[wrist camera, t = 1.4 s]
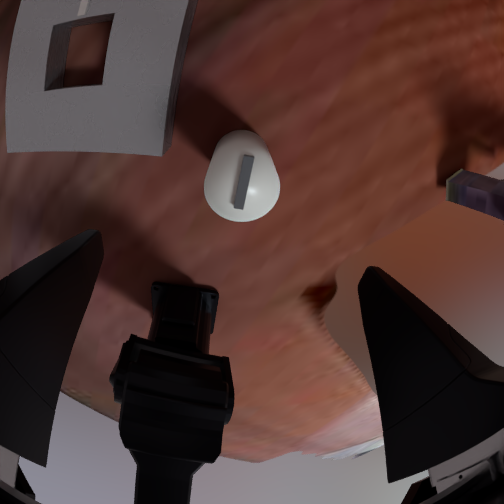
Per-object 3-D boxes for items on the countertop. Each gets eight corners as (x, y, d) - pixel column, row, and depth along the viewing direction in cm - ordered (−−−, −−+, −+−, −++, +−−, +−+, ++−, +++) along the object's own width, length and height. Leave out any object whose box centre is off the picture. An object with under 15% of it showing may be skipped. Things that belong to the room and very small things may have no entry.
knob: (262, 184, 20) (270, 229, 15) (210, 176, 19) (199, 218, 14) (274, 135, 17) (289, 162, 12) (218, 125, 17) (209, 148, 12)
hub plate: (171, 146, 17) (161, 157, 15) (25, 142, 15) (5, 153, 13) (208, -34, 9) (203, -49, 7) (42, -7, 7) (23, -10, 5)
